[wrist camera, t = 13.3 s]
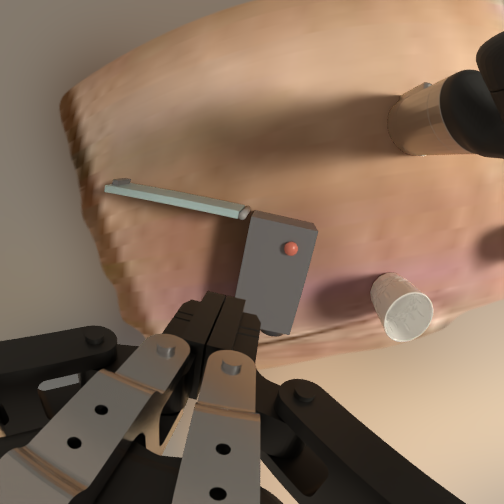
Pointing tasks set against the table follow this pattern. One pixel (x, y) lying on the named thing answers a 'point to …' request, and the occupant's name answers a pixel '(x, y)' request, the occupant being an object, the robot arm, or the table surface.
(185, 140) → the table surface
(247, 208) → the side door
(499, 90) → the robot arm
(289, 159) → the table surface
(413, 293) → the white cup
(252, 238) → the camera housing
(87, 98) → the table surface
